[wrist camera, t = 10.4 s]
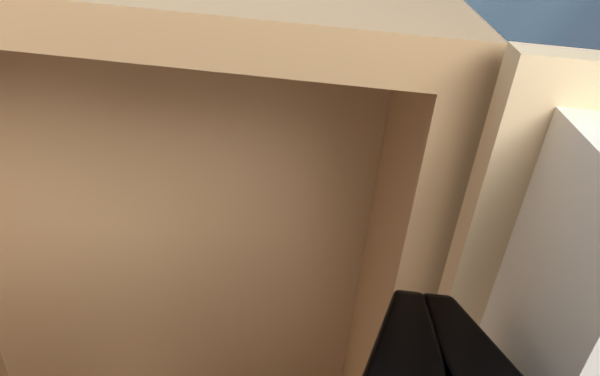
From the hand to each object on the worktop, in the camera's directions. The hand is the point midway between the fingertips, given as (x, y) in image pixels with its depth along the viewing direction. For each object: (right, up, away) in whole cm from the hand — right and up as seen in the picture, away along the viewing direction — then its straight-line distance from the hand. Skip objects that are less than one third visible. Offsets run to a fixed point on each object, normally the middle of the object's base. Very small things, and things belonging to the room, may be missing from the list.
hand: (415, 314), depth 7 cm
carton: (-6, +1, +9) cm, 11 cm away
